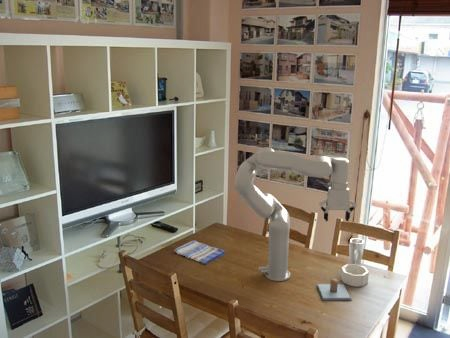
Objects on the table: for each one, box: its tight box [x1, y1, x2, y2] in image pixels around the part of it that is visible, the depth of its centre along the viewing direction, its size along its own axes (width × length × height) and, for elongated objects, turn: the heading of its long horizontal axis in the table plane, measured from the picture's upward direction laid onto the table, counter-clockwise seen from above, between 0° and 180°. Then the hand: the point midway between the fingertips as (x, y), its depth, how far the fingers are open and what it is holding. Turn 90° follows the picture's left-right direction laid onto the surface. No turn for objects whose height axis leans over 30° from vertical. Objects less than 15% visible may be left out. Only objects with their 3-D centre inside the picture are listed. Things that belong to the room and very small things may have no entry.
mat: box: [316, 284, 353, 302], centre depth 212 cm, size 13×13×1 cm
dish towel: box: [173, 239, 226, 265], centre depth 251 cm, size 17×24×3 cm
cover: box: [317, 278, 351, 299], centre depth 211 cm, size 12×12×6 cm
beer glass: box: [348, 237, 365, 266], centre depth 233 cm, size 7×7×15 cm
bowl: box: [340, 263, 370, 288], centre depth 222 cm, size 12×12×6 cm
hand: (336, 220), depth 216 cm, fingers open, 9 cm apart
